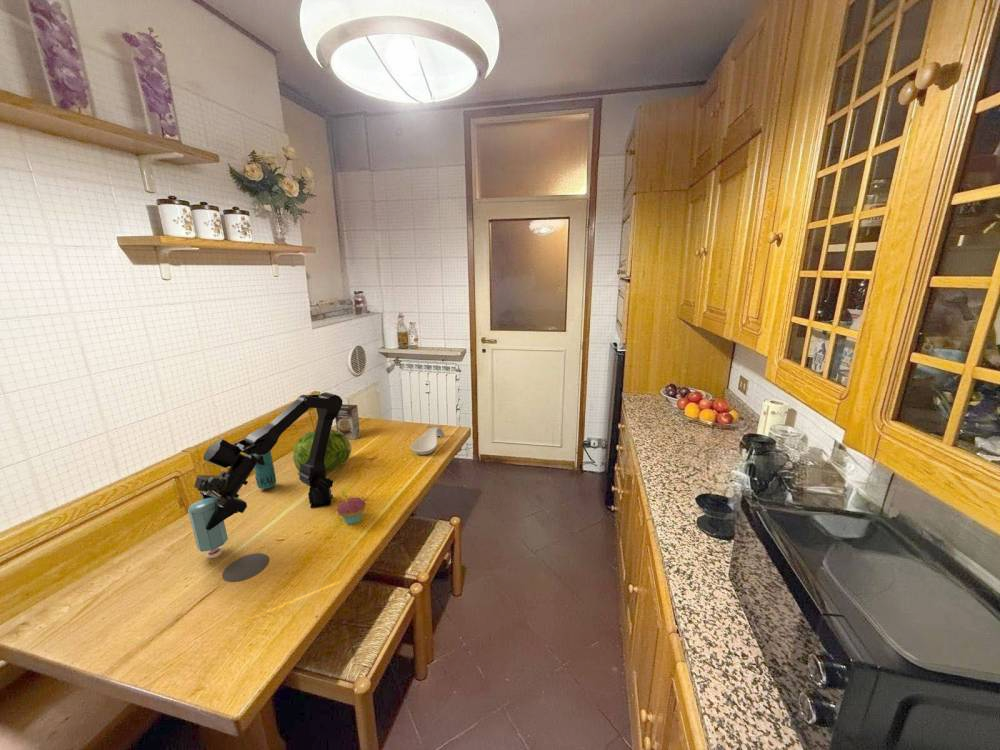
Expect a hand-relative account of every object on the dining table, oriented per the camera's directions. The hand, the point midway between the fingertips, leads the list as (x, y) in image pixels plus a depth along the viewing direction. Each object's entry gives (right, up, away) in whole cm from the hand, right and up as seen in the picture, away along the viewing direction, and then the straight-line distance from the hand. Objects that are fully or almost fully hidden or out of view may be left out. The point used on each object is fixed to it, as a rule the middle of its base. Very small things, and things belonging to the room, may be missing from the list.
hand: (202, 525), depth 111 cm
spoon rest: (+51, +8, +73) cm, 90 cm away
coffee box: (+8, +11, +86) cm, 88 cm away
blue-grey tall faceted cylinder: (+1, -6, +3) cm, 7 cm away
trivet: (+14, -11, -2) cm, 18 cm away
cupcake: (+35, -5, +19) cm, 40 cm away
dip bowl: (+1, -10, +4) cm, 11 cm away
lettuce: (+11, +3, +54) cm, 55 cm away
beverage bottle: (-5, -1, +40) cm, 40 cm away
